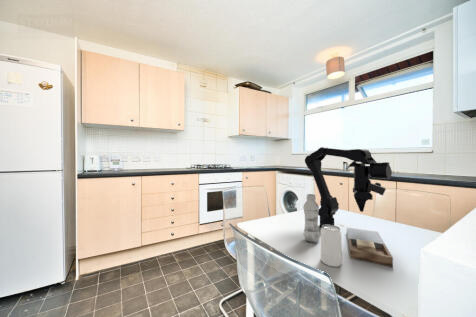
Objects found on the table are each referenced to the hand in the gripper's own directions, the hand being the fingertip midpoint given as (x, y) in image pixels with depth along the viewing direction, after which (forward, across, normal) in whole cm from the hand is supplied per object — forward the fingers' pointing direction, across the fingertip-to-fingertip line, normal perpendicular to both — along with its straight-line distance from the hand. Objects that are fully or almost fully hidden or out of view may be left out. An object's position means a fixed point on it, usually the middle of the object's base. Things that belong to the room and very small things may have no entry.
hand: (361, 211), depth 84 cm
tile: (+11, -15, 0) cm, 18 cm away
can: (+12, -29, +11) cm, 33 cm away
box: (+12, -17, -1) cm, 21 cm away
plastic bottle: (+12, -14, +19) cm, 27 cm away
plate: (+12, -5, 0) cm, 13 cm away
